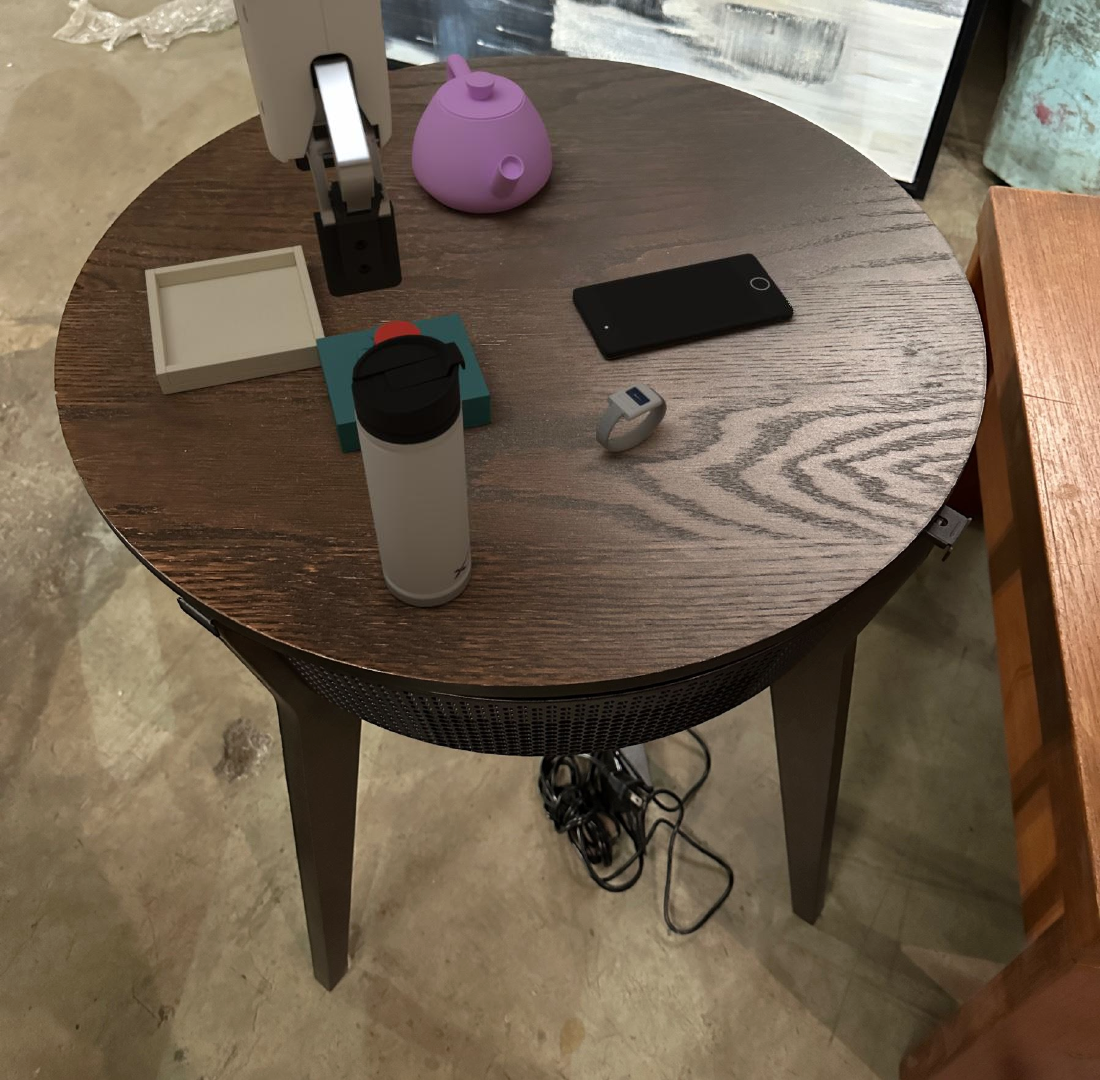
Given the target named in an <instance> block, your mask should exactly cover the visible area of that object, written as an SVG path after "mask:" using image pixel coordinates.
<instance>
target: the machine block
mask: <svg viewBox="0 0 1100 1080" xmlns="http://www.w3.org/2000/svg"><path fill="white" fill-rule="evenodd" d="M462 319H463V318H462V317H461V315H460V313H453V314H449V315H443V316H437V317H432V318H427V319H420V320H415V321H408V322H409V323H412V324H414V325H415V326H416V327H417V328H418V329H419V330H420V332H421V335H424V336H430V337H433V338H436V339H438V340H440V341H442V342H443V343H445V344H446V343H450V342H455V343H456V345H457V346H458V348H459V349H460V351H461V353H462V355H463V357H464V361H465V369H464V370H463V369H462V367H461V365H460V364H459V384H460V398H461V401H462V418H463V430H465V429H468V428H469V429H470V428H474V427H479V426H485V425H488V424H491V423H492V414H491V413H492V411H491V409H492V407H491V393H490V390H489V388H488V385H487V382H486V381H485V377H484V375H483V372H482V369H481V366H480V365H479V362H478V359H477V357H476V354H475V351H474V348H473V346H472V343H471V341H470V338H469V335H468V333H467V330H466V328H465V325H464V322H463V320H462ZM384 324H385V323H383V324H379V325H377V326H376V327H374V328H370V329H365V330H358V331H353V332H348V333H342V334H335V335H331V336H330V335H329V336H325V337H324V338H319V339H316V343H317V348H318V353H319V358H320V363H321V366H320V367H321V371H322V375H323V376H322V377H323V380H324V384H325V387H326V392H327V396H328V400H329V404H330V408H331V412H332V416H333V419H334V425H335V428H336V433H337V437H338V440H339V441H338V442H339V444H340V448H341V449H340V450H341V453H343V454H344V453H349V452H354V451H359V450H361V445H360V439H359V434H358V428H357V421H356V417H355V406H354V405H355V404H354V400H353V394H352V388H351V385H352V382H353V381H352V375H353V368H354V366H355V364H356V363H357V361H358V360H359V359H360V357H361V356H362V355H363V354H364V353H365V352H366V351H368V350H369V349H370V348H371V347H373V346H375V341H374V335H375V333H376V331H377V329H378V328H379V327H381V326H382V325H384Z"/></svg>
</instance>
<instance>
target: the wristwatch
mask: <svg viewBox="0 0 1100 1080" xmlns="http://www.w3.org/2000/svg"><path fill="white" fill-rule="evenodd" d="M606 402H607V404H608V405H610V406H609V407H608V408H607V409H606V410H605V412H604V413H603V415H602V416H601V418H600V420H599V421H598V424H597V427H596V429H595V439H596V441H597V442H598V443H599V444H600V445H601V446H602V447H603V448H604V449H605V450H606V451H608V452H610V453H611V452H612V453H620V452H625V451H627V450H630V449H632V448H635V447H636V446H638V445H640V444H641V443H643V442H644V441H645V440H646V439H648V438H649V437H650V436H651V435H652V434H653V433H654V431H655V430H656V429H657V428H658V427H659V426H660V424H661V423H662V421H663V420H664V418H665V416H666V414H667V409H668V407H667V401H666V400H665V399H664V397H662V395H660V393H658V392H657V391H656V390H655V389H654V388H652V387H649V386H648V385H646V383H644V381H642V380H639V381H636V382H634V383H632V384H630V385H629V386H627V387H625V388H623V389H620V390H619V391H616V392H615V393H612V394H611V395H609V396H607V397H606ZM648 412H649V413H648ZM646 413H648V414H647V415H646V416H645V418H644V419H643V420H642V421H641V422H640V423H639V424H638V426H636V427H635V428H634V429H632V430H631V431H630V432H628V433H627V434H625V435H623V436H621V437H618V438H615V439H610V436H611V433H612V431H613V429H614V428H615V426H616V424H617V423H618V421H619V420H620V419H621V418H623V419H624V420H625V421H627V422H628V423H629V422H631V421H633V420H635V419H637V418H639V417H640V416H643V415H644V414H646Z"/></svg>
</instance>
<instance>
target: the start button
mask: <svg viewBox="0 0 1100 1080" xmlns="http://www.w3.org/2000/svg"><path fill="white" fill-rule="evenodd" d="M409 322H410V321H405V320H393V321H389V322H386V323H383V324H384V325H382V324H381V325H382V326H381V327H379V328H378V329H377V331H376V333H375V335H374V341H375V345H376V344H378V343H380V342H382V341H385V340H387V339H389V338H393V337H397V336H402V335H421V332H420V330H419V329H418V328H417V327H416V326H415V325H414V324H412V323H409Z"/></svg>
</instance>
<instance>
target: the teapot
mask: <svg viewBox="0 0 1100 1080" xmlns="http://www.w3.org/2000/svg"><path fill="white" fill-rule="evenodd" d="M445 71H446V79H447V81H446V82H445V83H444V84H442V85H441V86H440V87H439V88H438V90H437V91H436V92H435V94H434V95H433V96H432V98H431V100H430V102H429V103H428V105H427V107H426V108H425V110H424V112H423V113H422V115H421V117H420V120H419V122H418V124H417V127H416V130H415V132H414V137H413V141H412V150H411V151H412V152H411V166H412V172H413V174H414V176H415V178H416V180H417V181H418V183H419V185H420V186H421V187H422V188H423V189H424V190H425V192H427V193H428V194H429V195H430V196H432V197H433V198H434V199H436V200H437V201H438V202H439V203H441V204H443V205H444V206H446V207H449V208H451V209H454V210H457V211H460V212H464V213H471V214H493V213H501V212H505V211H509V210H512V209H515V208H517V207H519V206H521V205H523V204H525V203H526V202H528V201H529V200H530V199H532V198H533V197H534V196H535V195H536V194H537V193H538V192H539V191H540V190H541V189H542V188H543V187H544V186H545V184H547V182H548V180H549V178H550V176H551V173H552V170H553V152H552V146H551V145H552V144H551V141H550V138H549V133H548V130H547V129H546V125H545V123H544V121H543V119H542V117H541V115H540V114H539V112H538V110H537V109H536V107H535V105H534V104H533V103H532V101H531V99H530V98H529V97H528V95H527V94H526V92H525V91H524V90H523V89H522V88H521V86H520V85H518V84H517V83H516V82H515V81H513V80H511V79H509V78H507V77H504V76H500V75H497V74H492V73H490V72H488V71H483V70H482V71H481V70H480V71H479V70H478V71H473V72H472V70H471V67H470V66H469V64H468V62H467V61H466V60H465V58H464V57H463V56H462V55H461V54H458V53H451V54H449V55H448V56H447V58H446V61H445Z"/></svg>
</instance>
